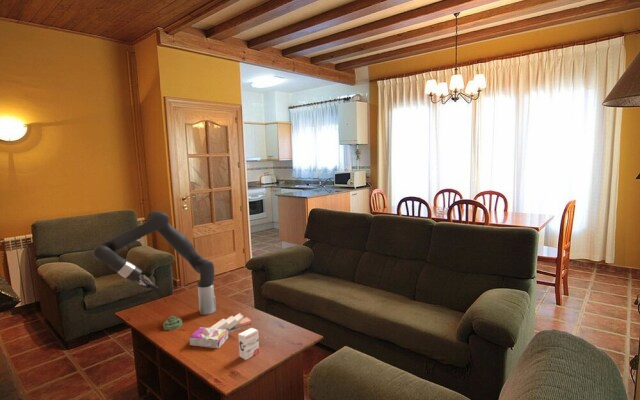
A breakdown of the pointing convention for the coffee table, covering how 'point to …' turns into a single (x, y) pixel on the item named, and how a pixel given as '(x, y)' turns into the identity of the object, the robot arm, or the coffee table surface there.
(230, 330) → the mat
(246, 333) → the ink box
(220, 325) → the domino
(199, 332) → the candy bar box
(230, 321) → the domino
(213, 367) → the coffee table surface
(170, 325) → the decorative artifact
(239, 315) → the domino
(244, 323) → the domino
